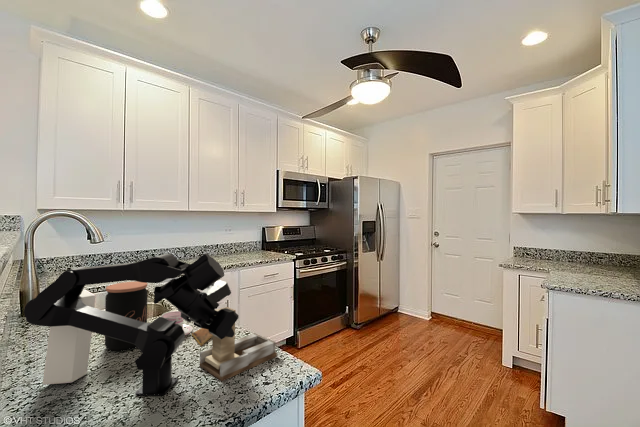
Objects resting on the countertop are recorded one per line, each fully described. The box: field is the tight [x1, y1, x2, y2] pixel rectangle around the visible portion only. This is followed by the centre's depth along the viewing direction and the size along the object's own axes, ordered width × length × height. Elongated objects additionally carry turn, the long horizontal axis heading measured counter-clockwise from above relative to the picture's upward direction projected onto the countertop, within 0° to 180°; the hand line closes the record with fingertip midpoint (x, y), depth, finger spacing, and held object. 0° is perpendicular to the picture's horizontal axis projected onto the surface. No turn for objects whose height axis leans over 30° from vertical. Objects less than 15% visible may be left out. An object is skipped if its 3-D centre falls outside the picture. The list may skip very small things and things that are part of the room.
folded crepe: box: [191, 328, 213, 347], centre depth 96 cm, size 11×8×2 cm
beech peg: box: [205, 306, 239, 370], centre depth 77 cm, size 6×6×13 cm
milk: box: [42, 287, 97, 385], centre depth 72 cm, size 6×6×22 cm
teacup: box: [160, 309, 194, 336], centre depth 100 cm, size 12×12×6 cm
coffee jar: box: [104, 281, 148, 353], centre depth 90 cm, size 11×11×18 cm
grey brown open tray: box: [199, 332, 278, 382], centre depth 81 cm, size 17×11×4 cm, turn 139°
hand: (228, 333), depth 78 cm, fingers closed on beech peg, 4 cm apart
